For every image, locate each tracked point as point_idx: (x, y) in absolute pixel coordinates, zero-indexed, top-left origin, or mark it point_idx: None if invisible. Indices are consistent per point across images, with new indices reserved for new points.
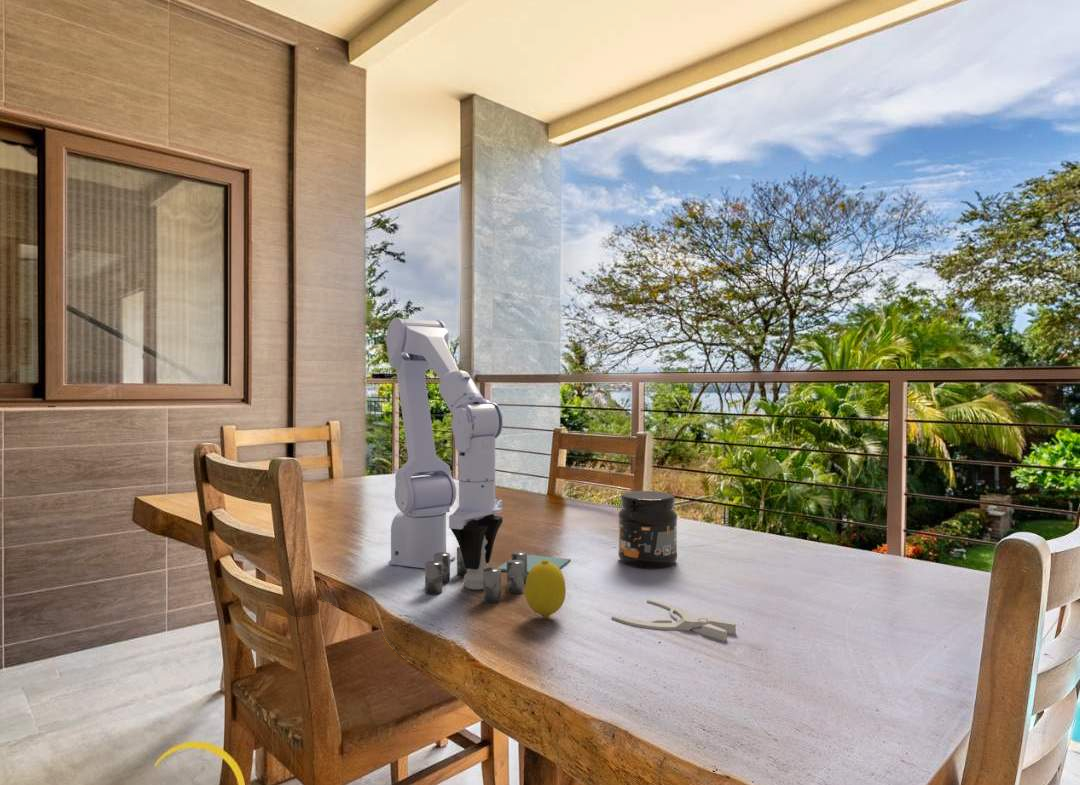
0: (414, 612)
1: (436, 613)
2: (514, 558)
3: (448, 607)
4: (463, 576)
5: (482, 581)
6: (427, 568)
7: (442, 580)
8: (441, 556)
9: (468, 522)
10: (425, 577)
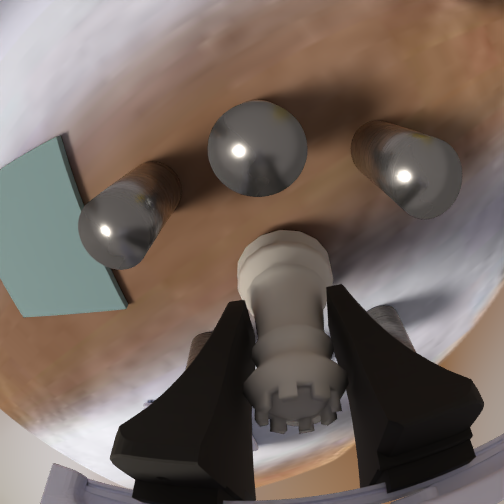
0: (491, 268)
1: (492, 227)
2: (153, 227)
3: (460, 227)
4: None
5: (312, 248)
6: None
7: None
8: None
9: (469, 461)
10: None
